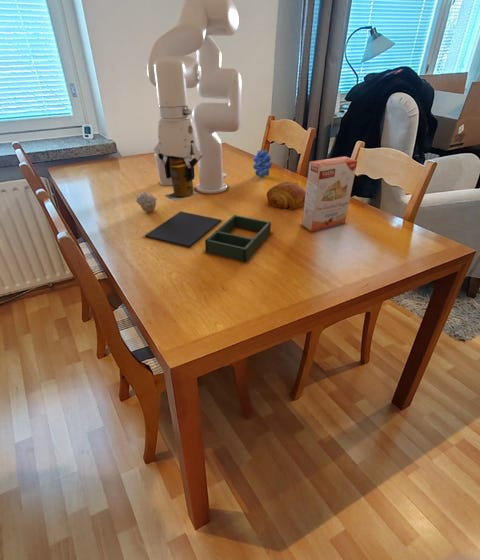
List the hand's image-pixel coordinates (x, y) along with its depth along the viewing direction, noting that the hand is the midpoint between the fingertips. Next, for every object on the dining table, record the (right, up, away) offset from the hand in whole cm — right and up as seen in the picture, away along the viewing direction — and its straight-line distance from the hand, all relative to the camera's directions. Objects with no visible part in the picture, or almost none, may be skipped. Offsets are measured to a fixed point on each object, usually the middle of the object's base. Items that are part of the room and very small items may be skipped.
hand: (180, 178), depth 105 cm
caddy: (+18, -19, +2) cm, 26 cm away
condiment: (0, -5, +3) cm, 5 cm away
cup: (-13, +11, +45) cm, 48 cm away
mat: (0, -14, +9) cm, 17 cm away
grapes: (+28, +15, +51) cm, 60 cm away
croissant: (+35, -1, +28) cm, 45 cm away
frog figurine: (-15, -6, +21) cm, 26 cm away
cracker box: (+45, -12, +12) cm, 48 cm away
